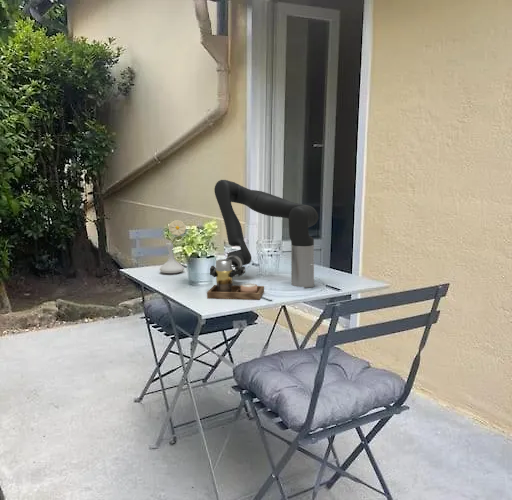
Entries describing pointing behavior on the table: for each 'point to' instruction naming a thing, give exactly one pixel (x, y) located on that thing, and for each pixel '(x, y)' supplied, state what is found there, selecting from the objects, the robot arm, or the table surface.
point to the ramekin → (249, 288)
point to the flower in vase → (172, 264)
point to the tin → (224, 275)
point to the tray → (235, 293)
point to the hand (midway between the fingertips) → (222, 274)
